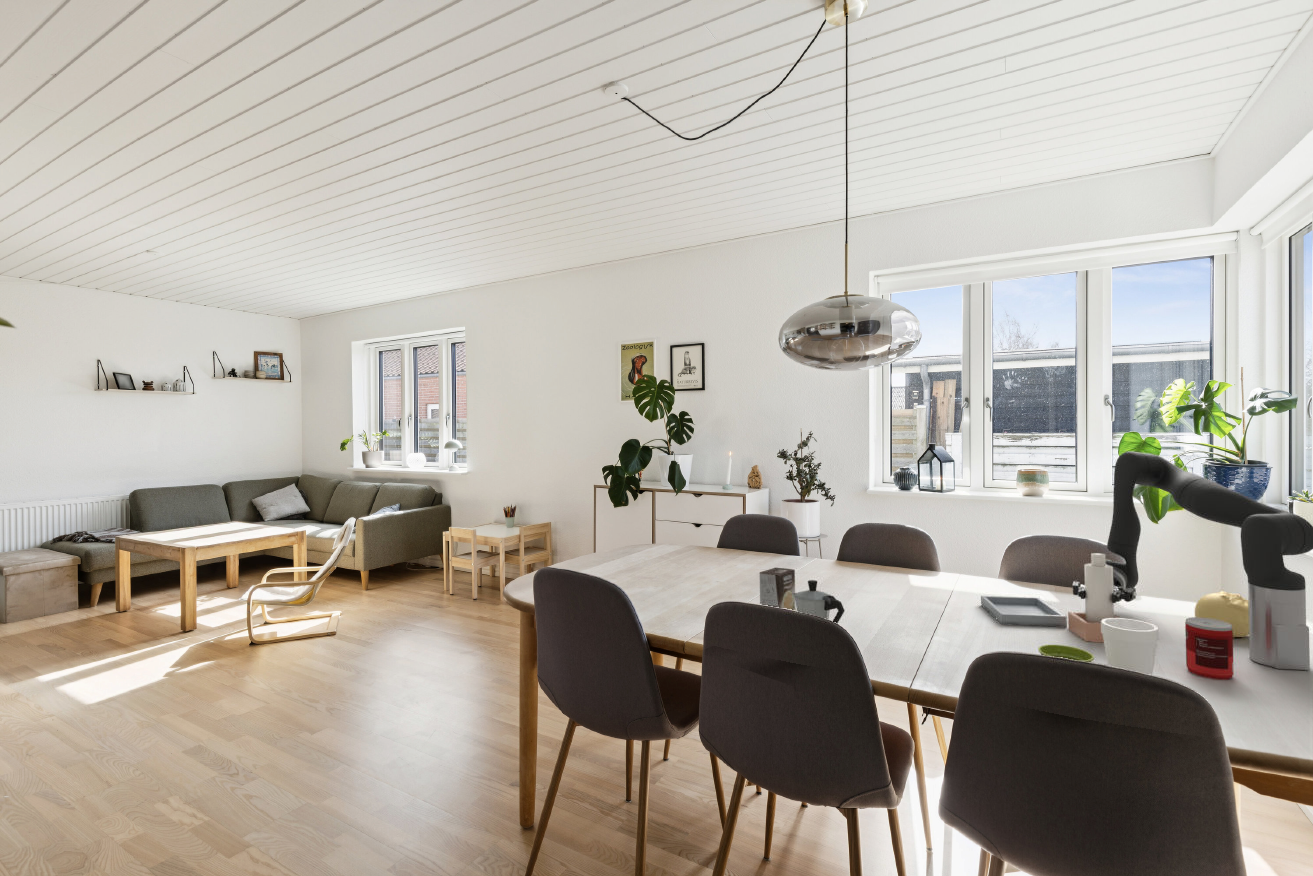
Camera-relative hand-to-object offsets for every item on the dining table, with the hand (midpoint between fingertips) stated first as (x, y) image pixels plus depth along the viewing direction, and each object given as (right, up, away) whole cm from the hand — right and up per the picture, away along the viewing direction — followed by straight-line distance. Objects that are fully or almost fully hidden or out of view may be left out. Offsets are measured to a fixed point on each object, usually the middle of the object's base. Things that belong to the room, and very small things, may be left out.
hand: (1097, 596), depth 160 cm
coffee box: (-78, -13, +15) cm, 81 cm away
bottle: (+2, -10, +2) cm, 11 cm away
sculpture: (+33, -10, +1) cm, 35 cm away
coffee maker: (-73, -13, -7) cm, 74 cm away
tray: (-7, -11, +21) cm, 25 cm away
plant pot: (-29, -12, -33) cm, 46 cm away
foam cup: (-15, -11, -30) cm, 35 cm away
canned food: (+7, -11, -24) cm, 27 cm away
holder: (+2, -10, +2) cm, 11 cm away
